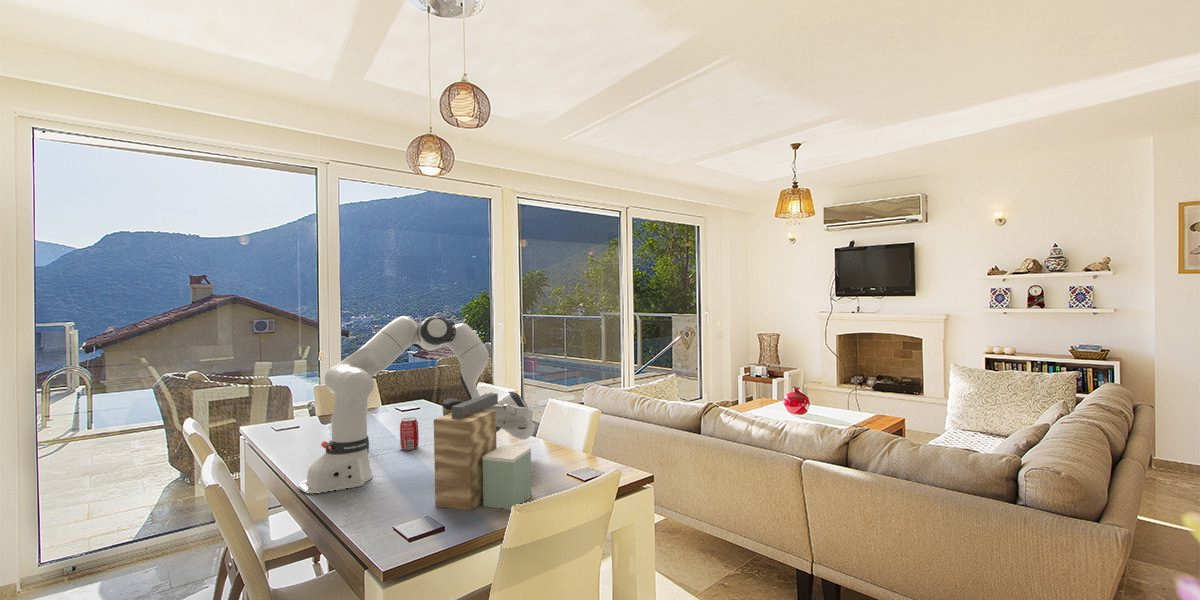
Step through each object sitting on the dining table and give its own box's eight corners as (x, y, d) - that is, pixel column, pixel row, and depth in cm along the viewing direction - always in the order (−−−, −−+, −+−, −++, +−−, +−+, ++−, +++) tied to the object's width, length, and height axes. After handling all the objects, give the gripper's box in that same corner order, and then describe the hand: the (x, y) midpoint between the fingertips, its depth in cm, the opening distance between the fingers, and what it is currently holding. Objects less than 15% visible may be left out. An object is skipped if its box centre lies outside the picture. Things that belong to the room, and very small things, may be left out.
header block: (513, 510, 163) (512, 459, 162) (483, 506, 166) (482, 456, 166) (531, 495, 174) (530, 447, 174) (502, 492, 177) (502, 445, 177)
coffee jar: (467, 443, 233) (466, 399, 232) (448, 447, 228) (447, 401, 228) (458, 438, 241) (458, 395, 240) (440, 441, 236) (440, 398, 236)
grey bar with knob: (461, 418, 166) (461, 404, 166) (451, 418, 168) (451, 404, 167) (497, 403, 187) (497, 391, 187) (488, 403, 188) (488, 390, 188)
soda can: (412, 444, 232) (411, 416, 232) (422, 447, 227) (421, 418, 227) (396, 448, 226) (396, 419, 226) (406, 452, 222) (406, 422, 222)
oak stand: (470, 510, 163) (468, 422, 162) (435, 505, 167) (433, 419, 166) (497, 491, 178) (495, 410, 177) (464, 487, 182) (463, 408, 181)
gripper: (486, 407, 204) (468, 395, 193) (537, 411, 198) (521, 398, 186) (481, 424, 201) (463, 412, 190) (533, 429, 195) (517, 416, 183)
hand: (492, 405), depth 188 cm, fingers open, 8 cm apart
